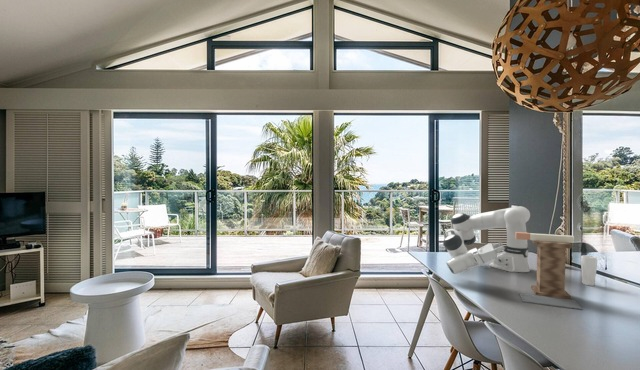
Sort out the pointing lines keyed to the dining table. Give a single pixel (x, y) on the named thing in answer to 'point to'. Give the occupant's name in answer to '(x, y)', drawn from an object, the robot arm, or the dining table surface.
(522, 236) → the white stick tan end
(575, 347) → the dining table surface
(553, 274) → the walnut stand
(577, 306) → the mat
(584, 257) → the drinking glass
